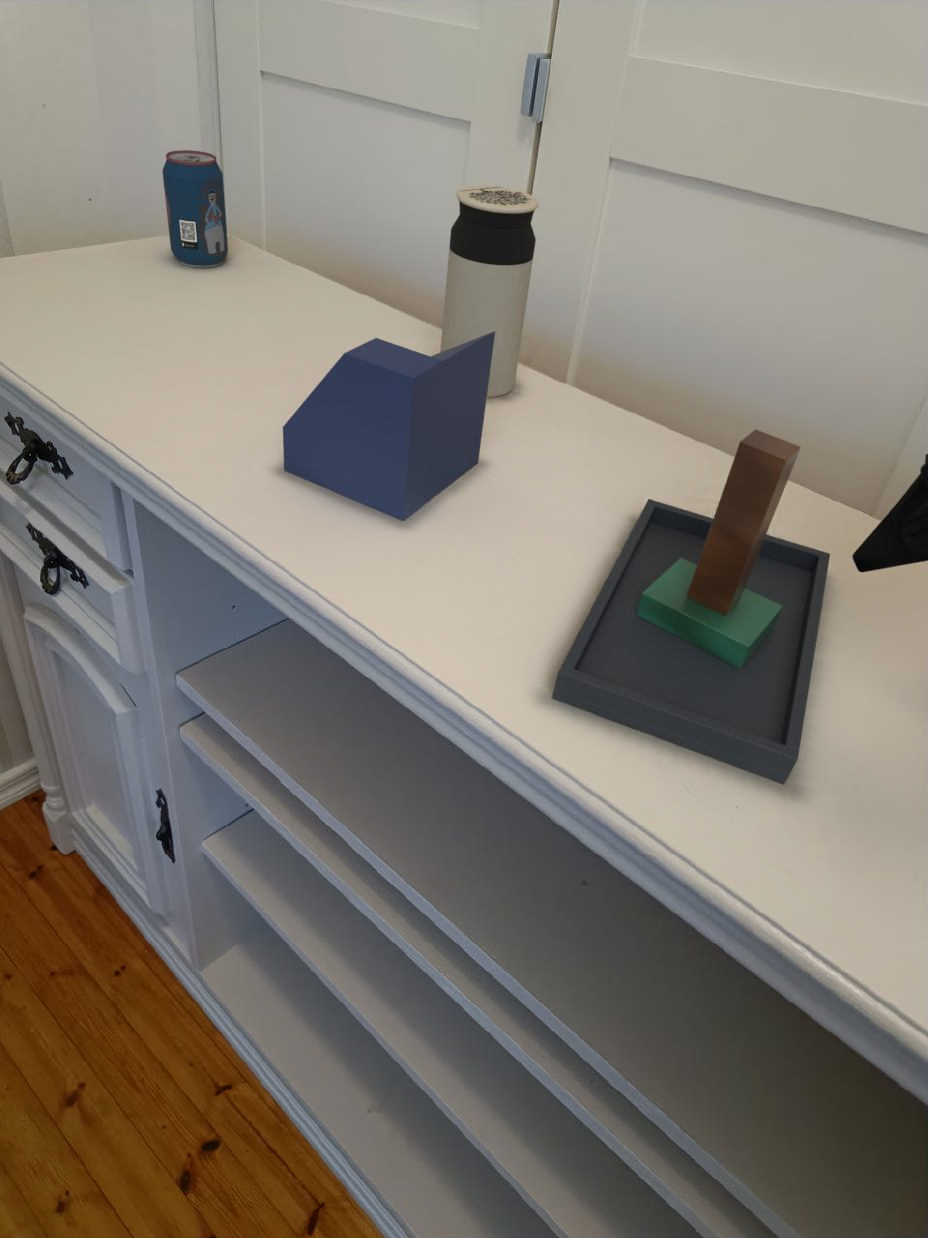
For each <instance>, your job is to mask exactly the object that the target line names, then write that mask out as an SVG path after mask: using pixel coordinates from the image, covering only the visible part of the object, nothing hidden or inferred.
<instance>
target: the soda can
mask: <svg viewBox="0 0 928 1238" xmlns="http://www.w3.org/2000/svg"><path fill="white" fill-rule="evenodd" d="M165 159H166V160H165V162H164V165H163V167H162V178H163V179H162V180H163V189H164V199H165V207H166V217H167V225H168V235H169V243H170V244H169V245H170V251H171V253H172V255H173V256H174V257H175V259H176V261H178V263H179V264H181V265H183V266H186V267H189V268H194V269H195V268H197V269H211V268H215V267H216V268H217V267H220V266H222V264H223V263H224V262H225V259H226V257H227V256H228V253H229V243H228V229H227V220H226V219H227V218H226V214H227V213H226V203H225V201H226V200H225V191H224V190H225V189H224V188H225V187H224V176H223V175H224V174H223V172H222V170H221V167H220V166H219V164H218V162H217V157H216V155H214V154H213V153H210V152H207V151H200V150H192V149H191V150H188V149H187V150H185V149H182V150H181V149H180V150H179V149H178V150H171V151H168V152H167V153H166V154H165Z"/></svg>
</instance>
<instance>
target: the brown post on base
mask: <svg viewBox="0 0 928 1238" xmlns="http://www.w3.org/2000/svg"><path fill="white" fill-rule="evenodd" d="M800 451H801V445H800V446H799V445H797V444H794V443H793V442H789V441H787V440H784V439H782V438H779V437H776V436H775V435H772V434H769V433H766V432H764V431H762V430H759V429H754V430H752V431H751V432H750V433H749V434H747V435H746V436H745V437H744V438H743V439H741V440H740V441H739V444H738V446H737V449H736V452H735V455H734V458H733V460H732V463H731V466H730V469H729V472H728V476H727V478H726V481H725V484H724V487H723V489H722V492H721V496H720V498H719V501H718V504H717V506H716V509H715V513H714V516H713V517H712V518H713V521H712V524H711V527H710V530H709V533H708V536H707V539H706V542H705V545H704V547H703V550H702V553H701V556H700V559H699V562H698V565H696V564H694V563H691V562H689V561H687V560H685V559H683V558H680V559H679V560H678V561H677V562H675V563H674V564H673V565H672V566H671V567H670V568H669V569H668V570H667V571H666V572H664V573H663V574H662V575H661V576H660V577H659V578H658V579H657V580H656V581H655V582H654V583H652V584H651V585H650V586H649V587H648V588H647V589H646V590H645V591H644V592H643V593H642V595H641V599H640V602H639V605H638V609H637V612H636V615H638V616H640V617H642V618H644V619H645V620H647V621H649V622H651V623H653V624H655V625H657V626H659V627H661V628H663V629H665V630H667V631H668V632H670V633H672V634H674V635H676V636H678V637H680V638H682V639H684V640H686V641H688V642H690V643H692V644H693V645H695V646H697V647H699V648H701V649H703V650H705V651H707V652H709V653H711V654H713V655H715V656H716V657H718V658H720V659H722V660H724V661H726V662H728V663H730V664H732V665H734V666H736V667H738V668H741V667H742V666H743V665H744V663H745V662H746V661H747V660H748V658H749V657H750V656H751V655H752V653H753V652H754V651H755V650H756V649H757V647H758V646H759V645H760V644H761V642H762V641H763V640H764V639H765V637H766V636H767V635H768V634H769V633H770V631H771V630H772V629H773V628H774V626H775V623H776V621H777V619H778V617H779V614H780V612H781V610H782V608H783V606H782V605H780V604H777V603H775V602H773V601H771V600H769V599H767V598H765V597H763V596H761V595H759V594H756V593H754V592H752V591H750V590H748V589H746V588H745V587H746V584H747V582H748V579H749V576H750V574H751V571H752V569H753V566H754V564H755V561H756V559H757V556H758V554H759V551H760V549H761V546H762V544H763V541H764V539H765V536H766V535H768V531H769V529H770V526H771V523H772V521H773V519H774V517H775V514H776V511H777V508H778V506H779V503H780V501H781V498H782V496H783V493H784V491H785V488H786V486H787V484H788V482H789V478H790V476H791V474H792V471H793V468H794V466H795V463H796V461H797V458H798V456H799V453H800Z"/></svg>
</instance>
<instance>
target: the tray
mask: <svg viewBox="0 0 928 1238" xmlns="http://www.w3.org/2000/svg"><path fill="white" fill-rule="evenodd" d="M713 518H714V517H710V516H706V515H703V514H700V513H696V512H693V511H691V510H686V509H683V508H681V507H676V506H673V505H670V504H666V503H663V502H661V501H657V500H655V499H650V498H648V499H647V501H646V503H645V505H644V506H643V509H642V510H641V512H640V515H639V516H638V518H637V520H636V522H635V524H634V526H633V528H632V529H631V531H630V533H629V536H628V538H627V539H626V541H625V543H624V545H623V547H622V549H621V551H620V553H619V554H618V556H617V559H616V560H615V563H614V564H613V566H612V568H611V570H610V571H609V574H608V576H607V578H606V580H605V581H604V583H603V585H602V587H601V588H600V591H599V593H598V595H597V597H596V598H595V601H594V602H593V604H592V606H591V608H590V610H589V612H588V614H587V616H586V618H585V619H584V622H583V624H582V626H581V627H580V630H579V631H578V633H577V635H576V637H575V639H574V641H573V643H572V644H571V646H570V648H569V650H568V651H567V654H566V656H565V658H564V660H563V662H562V664H561V666H560V668H559V669H558V671H557V676H556V680H555V683H554V688H553V692H552V696H551V698H552V699H553V700H556V701H558V702H561V703H564V704H566V705H570V706H572V707H574V708H577V709H580V710H583V711H585V712H587V713H591V714H593V715H596V716H599V717H602V718H604V719H606V720H610V721H612V722H615V723H618V724H620V725H623V726H625V727H628V728H631V729H633V730H636V731H639V732H641V733H644V734H647V735H650V736H652V737H654V738H658V739H661V740H663V741H666V742H668V743H671V744H674V745H677V746H679V747H682V748H685V749H688V750H690V751H693V752H695V753H697V754H701V755H703V756H705V757H709V758H712V759H715V760H717V761H719V762H722V763H724V764H727V765H730V766H733V767H736V768H738V769H741V770H744V771H746V772H749V773H751V774H755V775H758V776H760V777H763V778H765V779H768V780H771V781H773V782H776V783H779V784H782V785H784V784H786V782H787V781H788V778H789V776H790V775H791V772H792V771H793V769H794V767H795V766H796V763H797V761H798V760H799V754H800V748H801V747H800V746H801V742H802V741H801V740H802V734H803V728H804V720H805V716H806V709H807V704H808V697H809V690H810V685H811V678H812V671H813V664H814V659H815V652H816V646H817V639H818V633H819V628H820V621H821V616H822V609H823V602H824V596H825V595H824V594H825V589H826V583H827V576H828V570H829V564H830V557H831V553H829V552H826V551H822V550H819V549H816V548H812V547H809V546H805V545H802V544H800V543H796V542H794V541H793V542H792V541H790V540H786V539H784V538H780V537H776V536H772V535H770V534H766V536H765V539H764V541H763V544H762V546H761V549H760V551H759V554H758V556H757V559H756V561H755V564H754V566H753V569H752V571H751V574H750V576H749V579H748V582H747V584H746V587H745V588H746V589H748V590H750V591H752V592H754V593H756V594H759V595H761V596H763V597H765V598H767V599H769V600H771V601H773V602H775V603H777V604H780V605H782V606H783V608H782V610H781V612H780V614H779V617H778V619H777V621H776V623H775V626H774V628H773V629H772V630H771V631H770V633H769V634H768V635H767V636H766V637H765V639H764V640H763V641H762V642H761V644H760V645H759V646H758V647H757V649H756V650H755V651H754V652H753V653H752V655H751V656H750V657H749V658H748V660H747V661H746V662H745V663H744V665H743V666H742V667H741V668H738V667H736V666H734V665H732V664H730V663H728V662H726V661H724V660H722V659H720V658H718V657H716V656H715V655H713V654H711V653H709V652H707V651H705V650H703V649H701V648H699V647H697V646H695V645H693V644H692V643H690V642H688V641H686V640H684V639H682V638H680V637H678V636H676V635H674V634H672V633H670V632H668V631H667V630H665V629H663V628H661V627H659V626H657V625H655V624H653V623H651V622H649V621H647V620H645V619H644V618H642V617H640V616H638V615H636V612H637V609H638V605H639V602H640V599H641V595H642V593H643V592H644V591H645V590H646V589H647V588H648V587H649V586H650V585H651V584H652V583H654V582H655V581H656V580H657V579H658V578H659V577H660V576H661V575H662V574H663V573H664V572H666V571H667V570H668V569H669V568H670V567H671V566H672V565H673V564H674V563H675V562H677V561H678V560H679V559H680V558H683V559H685V560H687V561H689V562H691V563H694V564H696V565H698V562H699V559H700V556H701V553H702V550H703V547H704V545H705V542H706V539H707V536H708V533H709V530H710V527H711V524H712V521H713Z"/></svg>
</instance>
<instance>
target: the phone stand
mask: <svg viewBox="0 0 928 1238" xmlns="http://www.w3.org/2000/svg"><path fill="white" fill-rule="evenodd" d="M494 337H495V331H494V332H492V333H489V334H486V335H484V336H481V337H479V338H476V339H474V340H471V341H469V342H466V343H463V344H461V345H458V346H456V347H453V348H451V349H448V350H445V351H443V352H438V353H435V354H432V355H427V354H424V353H422V352H418V351H417V350H416V351H415V350H413V349H410V348H407V347H404V346H401V345H398V344H395V343H393V342H389V341H386V340H384V339H381V338H378V337H374V338H373V339H370V340H368V341H366V342H364V343H362V344H360V345H358V346H355V347H354V348H352V349H350V350H348V351H345V352H344V353H343V354H341V355H342V356H340V358H339V359H337V361H336V362H335V363H334V365H333V366H331V368H330V369H329V370H328V372H327V373H326V374H325V376H323V378H322V379H321V380H320V382H319V383H318V384H317V385H316V386H315V388H314V389H313V390H312V391H311V393H309V395H308V396H307V397H306V398H305V399H304V401H303V402H302V403H301V404H300V406H299V407H298V408H297V409H296V410H295V412H294V413H293V414H292V415H291V416H290V418H289V419H288V420H287V421H286V422H285V424H284V425H283V426H282V445H283V446H282V448H283V470H284V472H287V473H289V474H291V475H294V476H297V477H299V478H301V479H304V480H306V481H309V482H310V483H313V484H315V485H317V486H320V487H322V488H325V489H327V490H329V491H332V492H334V493H336V494H339V495H341V496H344V497H346V498H348V499H351V500H352V501H354V502H358V503H360V504H363V505H365V506H367V507H369V508H372V509H374V510H376V511H379V512H381V513H384V514H385V515H388V516H390V517H392V518H395V519H397V520H400V521H402V522H404V521H406V520H407V519H408V518H409V517H411V516H412V515H414V514H415V513H416V512H417V511H418V510H420V509H421V508H423V507H424V506H425V505H426V504H427V503H429V502H430V501H431V500H433V499H435V497H436V496H438V495H439V494H440V493H441V492H443V491H444V490H446V489H447V488H448V487H449V486H451V485H452V484H454V483H455V482H456V481H457V480H459V479H460V478H461V477H463V476H464V475H465V474H466V473H467V472H469V471H470V470H472V469H473V468H474V467H475V466H477V465H478V464H479V460H480V452H481V443H482V437H483V428H484V421H485V415H486V406H487V399H488V397H487V391H488V383H489V376H490V368H491V360H492V353H493V345H494Z"/></svg>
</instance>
